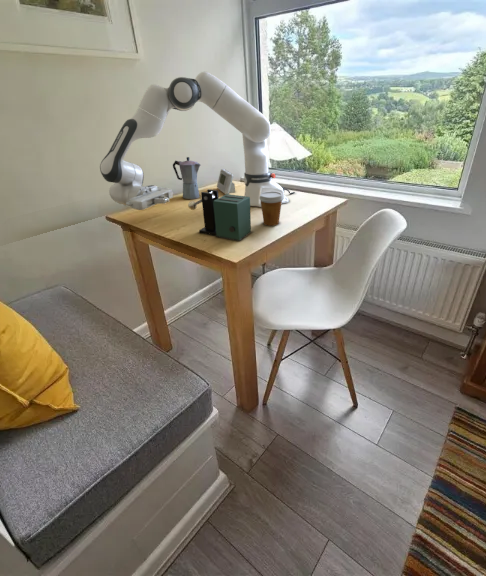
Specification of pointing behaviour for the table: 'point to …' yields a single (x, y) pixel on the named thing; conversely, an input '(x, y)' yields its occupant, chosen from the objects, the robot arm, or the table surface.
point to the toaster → (232, 217)
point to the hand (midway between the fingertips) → (167, 200)
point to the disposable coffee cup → (271, 207)
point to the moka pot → (188, 178)
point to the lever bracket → (209, 212)
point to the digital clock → (226, 182)
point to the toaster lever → (193, 205)
